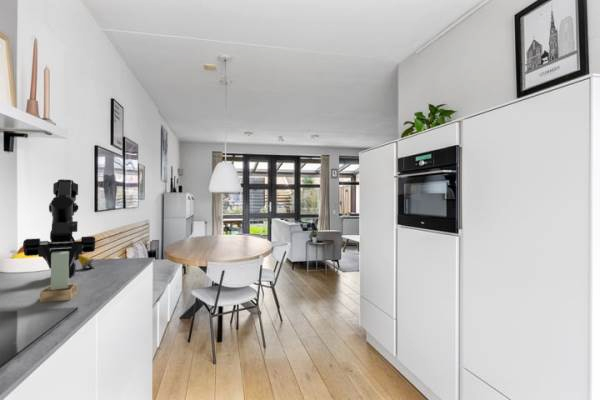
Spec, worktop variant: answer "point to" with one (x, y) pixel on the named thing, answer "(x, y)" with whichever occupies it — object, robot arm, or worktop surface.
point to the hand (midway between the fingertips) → (60, 267)
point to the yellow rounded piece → (85, 261)
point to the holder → (58, 293)
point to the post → (59, 270)
